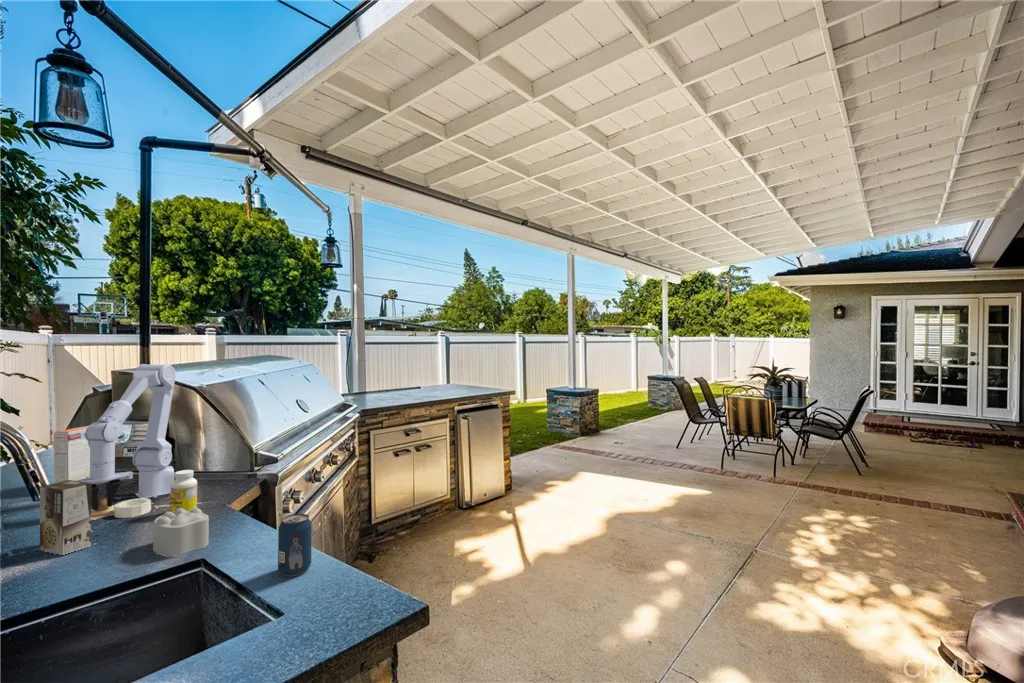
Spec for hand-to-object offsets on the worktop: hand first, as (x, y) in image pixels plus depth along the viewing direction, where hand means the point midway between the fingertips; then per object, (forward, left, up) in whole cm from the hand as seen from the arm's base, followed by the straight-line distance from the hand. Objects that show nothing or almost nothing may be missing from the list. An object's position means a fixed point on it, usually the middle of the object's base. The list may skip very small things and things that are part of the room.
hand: (101, 507), depth 145 cm
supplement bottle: (-16, +18, -2) cm, 24 cm away
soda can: (-21, +78, -2) cm, 81 cm away
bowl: (-6, +7, -2) cm, 9 cm away
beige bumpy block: (-8, +43, -2) cm, 44 cm away
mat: (0, 0, -2) cm, 2 cm away
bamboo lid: (0, 0, -1) cm, 1 cm away
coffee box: (+11, +24, -2) cm, 27 cm away
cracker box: (-1, -41, -2) cm, 41 cm away
